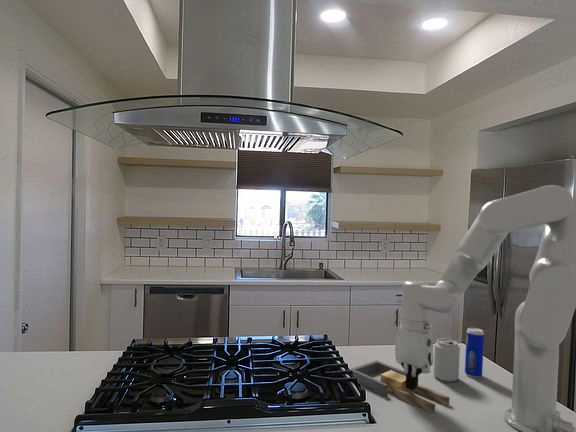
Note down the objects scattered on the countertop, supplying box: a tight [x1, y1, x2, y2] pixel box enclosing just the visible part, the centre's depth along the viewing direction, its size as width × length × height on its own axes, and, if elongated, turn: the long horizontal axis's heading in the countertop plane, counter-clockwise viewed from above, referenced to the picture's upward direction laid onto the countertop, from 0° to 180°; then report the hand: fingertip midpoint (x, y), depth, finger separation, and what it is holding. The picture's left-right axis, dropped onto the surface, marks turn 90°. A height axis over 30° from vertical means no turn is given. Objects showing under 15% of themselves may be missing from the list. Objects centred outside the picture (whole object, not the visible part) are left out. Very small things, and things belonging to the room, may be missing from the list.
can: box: [433, 337, 461, 383], centre depth 127 cm, size 8×8×12 cm
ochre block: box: [380, 370, 412, 394], centre depth 118 cm, size 7×5×4 cm
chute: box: [393, 383, 451, 414], centre depth 112 cm, size 12×8×2 cm
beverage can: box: [464, 327, 485, 379], centre depth 130 cm, size 5×5×15 cm
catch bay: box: [348, 360, 406, 397], centre depth 123 cm, size 14×13×3 cm
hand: (411, 387), depth 114 cm, fingers closed
